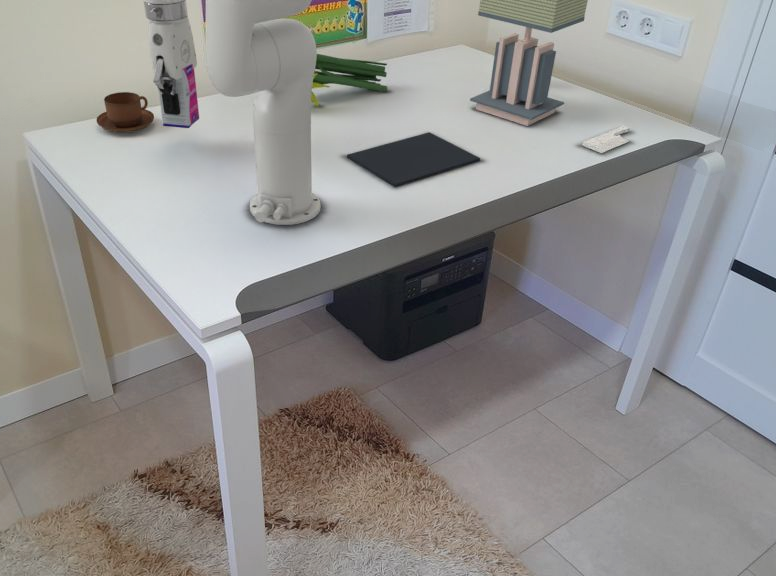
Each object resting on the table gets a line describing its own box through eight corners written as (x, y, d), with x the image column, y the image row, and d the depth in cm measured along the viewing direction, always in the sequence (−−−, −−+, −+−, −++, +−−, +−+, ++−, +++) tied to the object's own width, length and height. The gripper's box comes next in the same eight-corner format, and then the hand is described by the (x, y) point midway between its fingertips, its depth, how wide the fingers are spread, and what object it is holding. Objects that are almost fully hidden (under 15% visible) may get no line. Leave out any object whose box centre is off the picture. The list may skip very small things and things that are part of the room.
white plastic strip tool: (641, 136, 159) (643, 131, 158) (601, 153, 152) (602, 148, 151) (622, 129, 162) (623, 124, 161) (581, 145, 155) (582, 140, 154)
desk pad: (395, 187, 137) (395, 184, 137) (346, 157, 147) (346, 154, 147) (479, 160, 147) (480, 158, 147) (429, 134, 157) (429, 132, 157)
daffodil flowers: (403, 105, 173) (276, 88, 153) (367, 120, 185) (244, 107, 165) (398, 33, 172) (270, 7, 152) (362, 53, 184) (238, 31, 164)
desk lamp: (466, 108, 171) (484, -48, 150) (499, 93, 179) (521, -56, 158) (532, 129, 161) (562, -34, 141) (565, 113, 169) (597, -43, 149)
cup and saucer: (119, 113, 163) (114, 85, 159) (165, 120, 160) (161, 92, 156) (86, 132, 154) (80, 103, 150) (135, 140, 151) (130, 111, 147)
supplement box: (190, 128, 143) (182, 69, 136) (162, 126, 144) (152, 67, 137) (201, 118, 148) (193, 60, 141) (173, 116, 149) (165, 58, 142)
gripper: (163, 23, 126) (178, 125, 137) (204, 1, 139) (214, 96, 150) (124, 20, 127) (142, 121, 138) (168, -1, 141) (181, 93, 152)
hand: (179, 107), depth 144 cm, fingers closed on supplement box, 5 cm apart
